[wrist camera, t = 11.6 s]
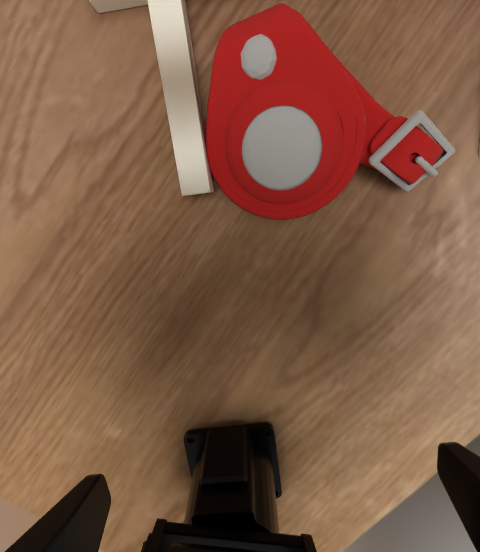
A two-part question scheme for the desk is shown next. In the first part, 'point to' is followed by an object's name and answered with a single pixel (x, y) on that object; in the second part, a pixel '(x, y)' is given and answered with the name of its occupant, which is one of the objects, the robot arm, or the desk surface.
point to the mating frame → (177, 88)
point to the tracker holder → (302, 121)
